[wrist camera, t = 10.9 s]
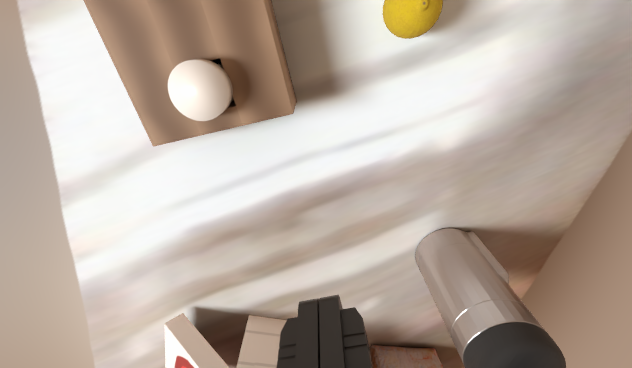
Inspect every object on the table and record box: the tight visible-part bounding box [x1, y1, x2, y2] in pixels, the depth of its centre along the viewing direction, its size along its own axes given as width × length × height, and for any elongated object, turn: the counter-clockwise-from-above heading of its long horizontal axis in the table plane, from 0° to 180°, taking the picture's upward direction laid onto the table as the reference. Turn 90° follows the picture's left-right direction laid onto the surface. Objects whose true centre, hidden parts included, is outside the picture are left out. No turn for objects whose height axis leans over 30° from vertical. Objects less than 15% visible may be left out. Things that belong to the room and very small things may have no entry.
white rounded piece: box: [168, 59, 234, 121], centre depth 33 cm, size 6×6×8 cm
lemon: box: [383, 0, 443, 38], centre depth 31 cm, size 6×6×8 cm
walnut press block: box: [84, 0, 297, 146], centre depth 32 cm, size 16×20×7 cm
